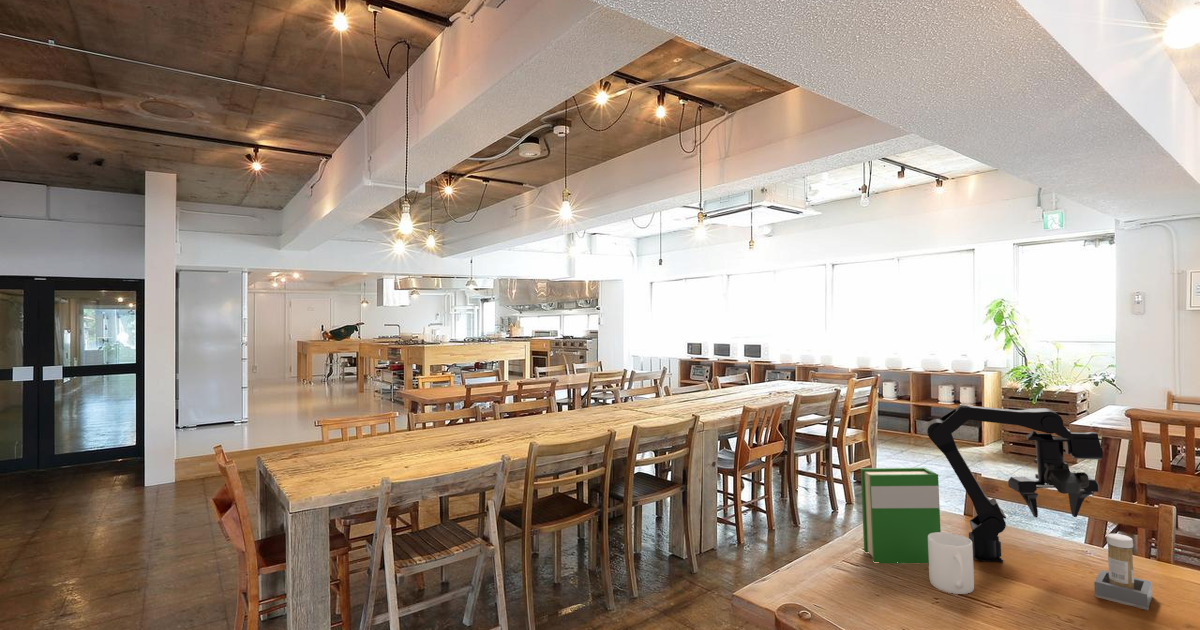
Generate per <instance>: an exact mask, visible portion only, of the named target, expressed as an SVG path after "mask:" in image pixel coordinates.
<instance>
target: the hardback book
mask: <svg viewBox="0 0 1200 630" xmlns="http://www.w3.org/2000/svg"><path fill="white" fill-rule="evenodd" d="M860 482H861V486H860V487H861V504H862V505H861V509H862V531H863V532H862V533H863V552H864V551H865V552H869V553H870V556H871V557H872V562H873V561H874V562H879V563H878V564H902V563H929V555H928V535H929V534H930V533H935V532H942V531H941V510H940V509H941V508H940V489H939V488H940V486H939V484H940V482H939V474H938V473H935V472H934V471H932V470H930V469H928V468H927V467H868V468H867V467H866V468H865V467H864V468H863V467H861V468H860ZM897 562H898V563H897Z"/></svg>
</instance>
